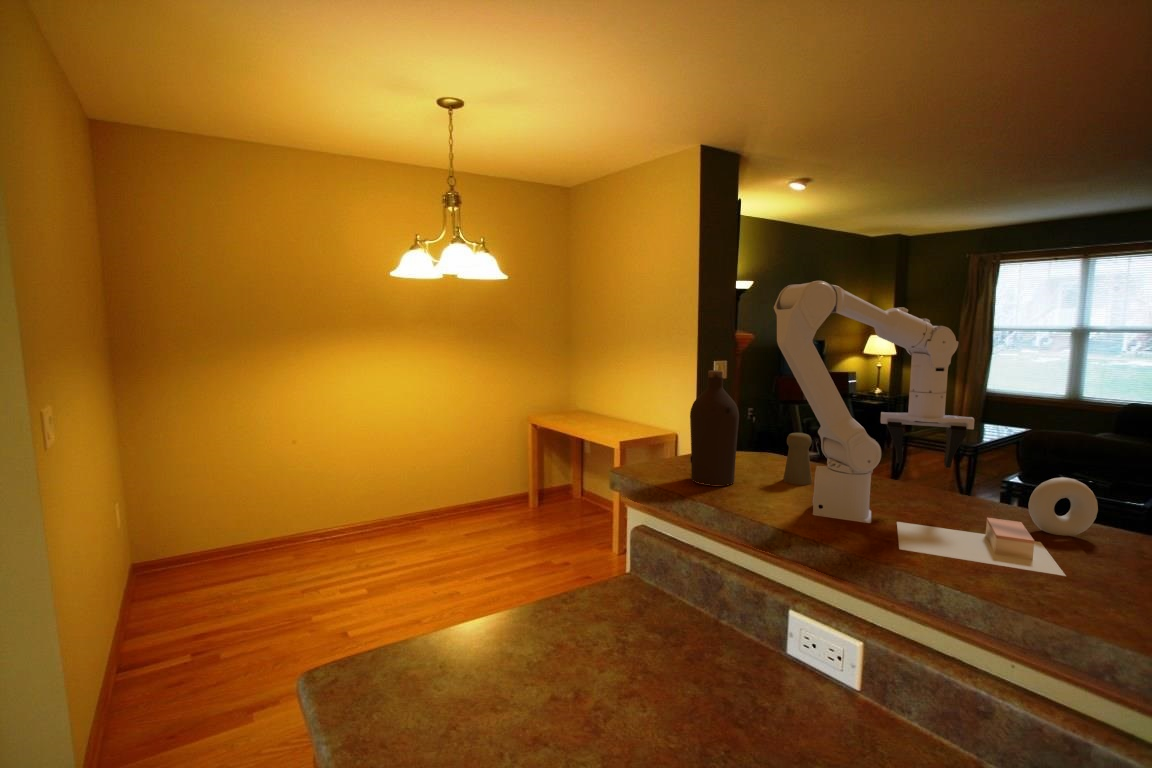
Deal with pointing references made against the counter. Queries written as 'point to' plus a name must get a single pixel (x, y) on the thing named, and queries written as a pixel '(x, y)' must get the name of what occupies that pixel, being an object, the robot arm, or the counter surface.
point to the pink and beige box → (1009, 538)
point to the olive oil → (714, 434)
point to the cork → (798, 459)
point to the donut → (1078, 514)
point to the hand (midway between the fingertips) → (922, 464)
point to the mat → (969, 548)
